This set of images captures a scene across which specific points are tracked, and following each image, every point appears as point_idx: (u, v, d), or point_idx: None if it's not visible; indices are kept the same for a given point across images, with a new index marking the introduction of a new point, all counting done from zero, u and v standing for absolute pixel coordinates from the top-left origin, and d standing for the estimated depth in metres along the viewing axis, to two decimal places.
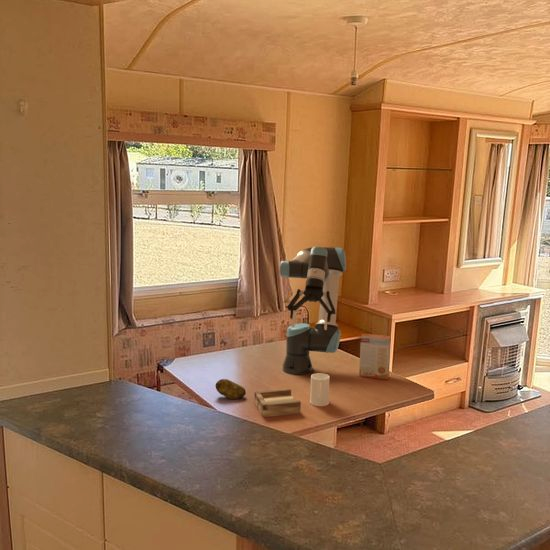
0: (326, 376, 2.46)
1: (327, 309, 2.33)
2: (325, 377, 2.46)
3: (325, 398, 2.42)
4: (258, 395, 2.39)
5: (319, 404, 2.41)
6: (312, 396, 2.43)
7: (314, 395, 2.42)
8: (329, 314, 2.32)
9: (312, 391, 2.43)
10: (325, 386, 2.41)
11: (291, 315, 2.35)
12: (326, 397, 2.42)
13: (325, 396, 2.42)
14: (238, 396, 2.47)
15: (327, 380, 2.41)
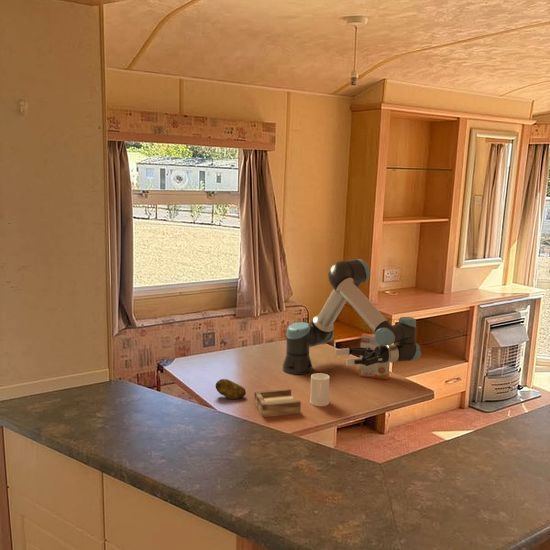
0: (326, 376, 2.46)
1: None
2: (325, 377, 2.46)
3: (325, 398, 2.42)
4: (258, 395, 2.39)
5: (319, 404, 2.41)
6: (312, 396, 2.43)
7: (314, 395, 2.42)
8: None
9: (312, 391, 2.43)
10: (325, 386, 2.41)
11: None
12: (326, 397, 2.42)
13: (325, 396, 2.42)
14: (238, 396, 2.47)
15: (327, 380, 2.41)
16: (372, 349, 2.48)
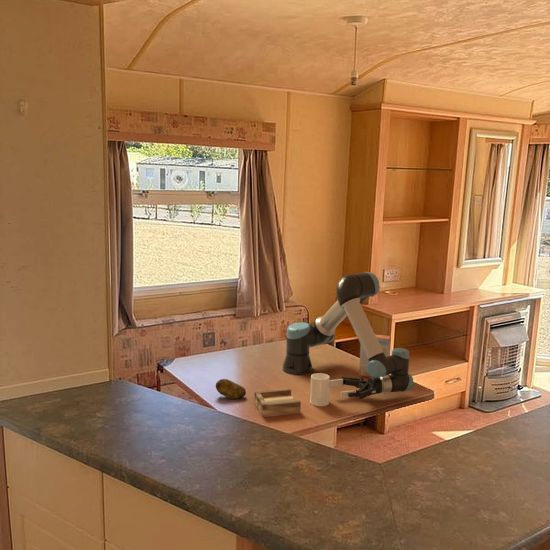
0: (326, 376, 2.46)
1: None
2: (325, 377, 2.46)
3: (325, 398, 2.42)
4: (258, 395, 2.39)
5: (319, 404, 2.41)
6: (312, 396, 2.43)
7: (314, 395, 2.42)
8: None
9: (312, 391, 2.43)
10: (325, 386, 2.41)
11: None
12: (326, 397, 2.42)
13: (325, 396, 2.42)
14: (238, 396, 2.47)
15: (327, 380, 2.41)
16: None
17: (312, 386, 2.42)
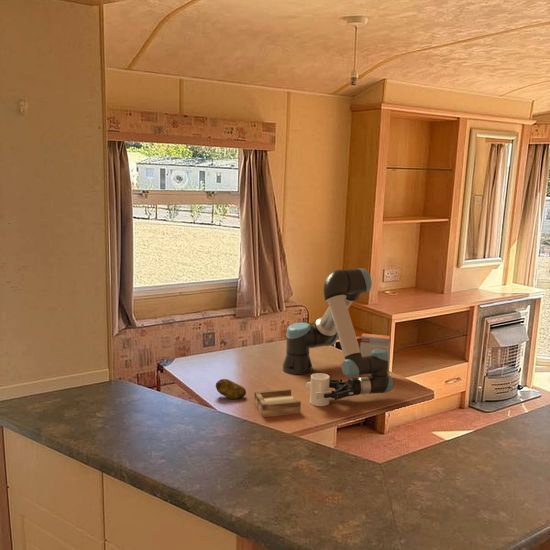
0: (326, 376, 2.46)
1: None
2: (325, 377, 2.46)
3: (325, 398, 2.42)
4: (258, 395, 2.39)
5: (319, 404, 2.42)
6: (312, 396, 2.43)
7: (314, 395, 2.42)
8: None
9: (312, 391, 2.43)
10: (325, 386, 2.41)
11: None
12: None
13: None
14: (238, 396, 2.47)
15: (327, 380, 2.41)
16: None
17: (312, 386, 2.42)
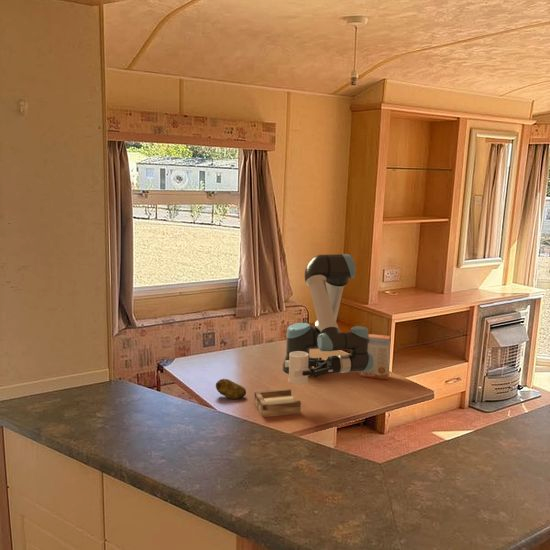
0: (305, 354, 2.40)
1: None
2: (304, 355, 2.40)
3: (304, 376, 2.36)
4: (258, 395, 2.39)
5: (298, 382, 2.35)
6: (291, 374, 2.37)
7: (293, 373, 2.36)
8: None
9: (291, 369, 2.36)
10: (304, 363, 2.35)
11: None
12: None
13: None
14: (238, 396, 2.47)
15: (306, 357, 2.35)
16: None
17: (291, 364, 2.36)
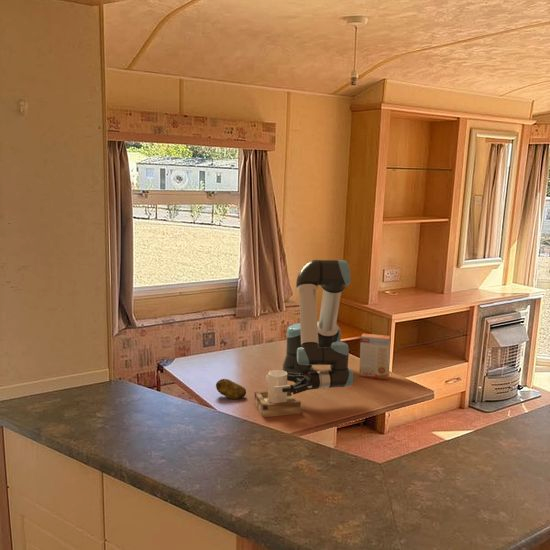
0: (284, 373, 2.40)
1: None
2: (283, 374, 2.41)
3: (282, 395, 2.36)
4: (258, 395, 2.39)
5: (276, 401, 2.36)
6: (269, 393, 2.37)
7: (271, 392, 2.36)
8: None
9: (269, 388, 2.37)
10: (283, 382, 2.35)
11: None
12: (284, 394, 2.37)
13: (282, 393, 2.36)
14: (238, 396, 2.47)
15: (284, 377, 2.35)
16: (303, 375, 2.41)
17: (269, 383, 2.37)
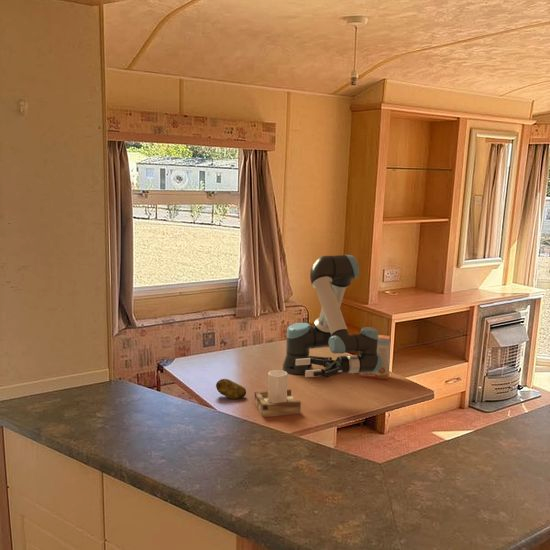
0: (284, 373, 2.40)
1: None
2: (283, 374, 2.41)
3: (282, 395, 2.36)
4: (258, 395, 2.39)
5: (276, 401, 2.36)
6: (269, 393, 2.37)
7: (271, 392, 2.36)
8: None
9: (269, 388, 2.37)
10: (283, 382, 2.35)
11: None
12: (284, 394, 2.37)
13: (282, 393, 2.36)
14: (238, 396, 2.47)
15: (284, 377, 2.35)
16: (333, 360, 2.45)
17: (269, 383, 2.37)
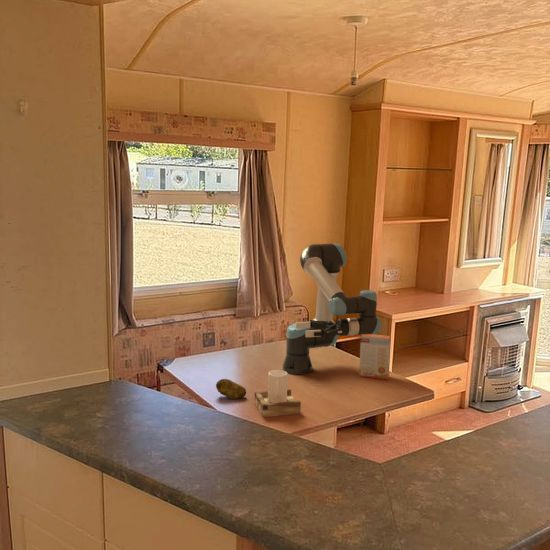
0: (284, 373, 2.40)
1: None
2: (283, 374, 2.41)
3: (283, 395, 2.36)
4: (258, 395, 2.39)
5: (276, 401, 2.36)
6: (269, 393, 2.37)
7: (271, 392, 2.36)
8: None
9: (269, 388, 2.37)
10: (283, 383, 2.35)
11: None
12: (284, 394, 2.37)
13: (282, 393, 2.36)
14: (238, 396, 2.47)
15: (284, 377, 2.35)
16: (333, 322, 2.47)
17: (269, 383, 2.37)
